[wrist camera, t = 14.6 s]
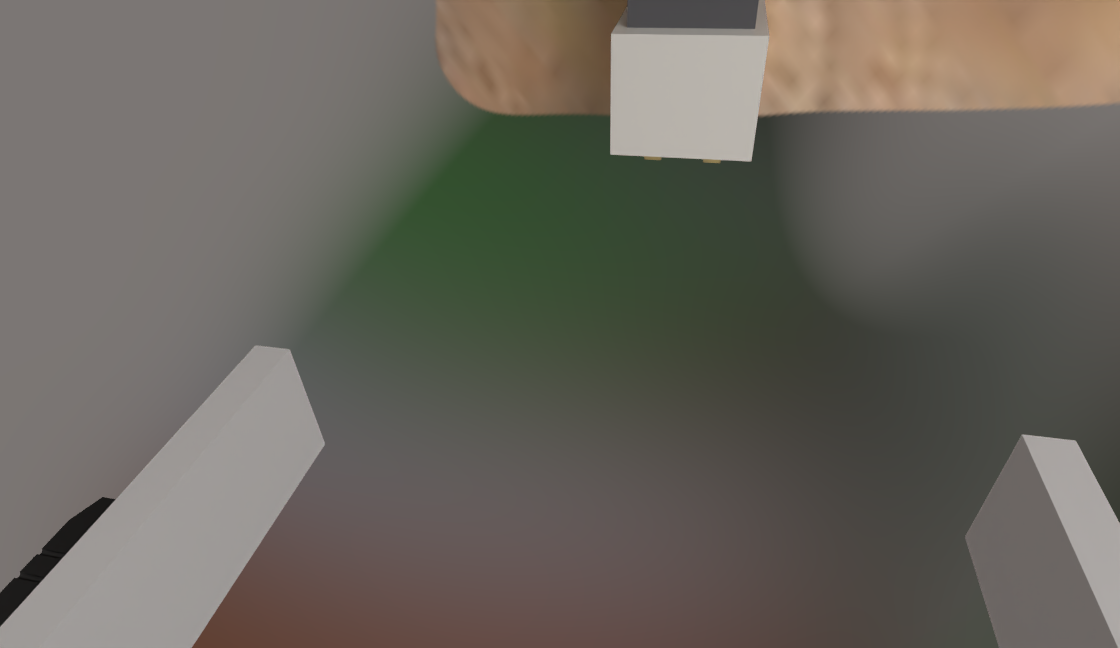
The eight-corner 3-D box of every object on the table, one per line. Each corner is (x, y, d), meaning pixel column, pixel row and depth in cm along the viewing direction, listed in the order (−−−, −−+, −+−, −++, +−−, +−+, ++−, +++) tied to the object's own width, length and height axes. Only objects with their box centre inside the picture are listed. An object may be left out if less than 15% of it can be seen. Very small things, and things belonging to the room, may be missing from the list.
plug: (640, -192, 28) (612, -192, 22) (788, -200, 27) (803, -202, 21) (632, 121, 36) (610, 185, 30) (745, 126, 35) (746, 193, 29)
